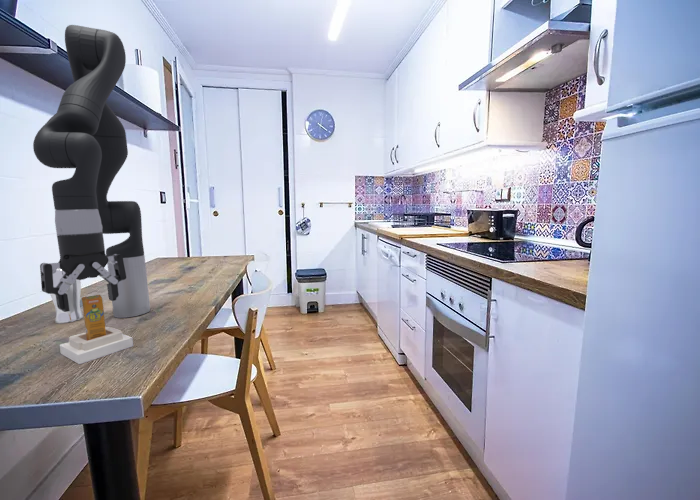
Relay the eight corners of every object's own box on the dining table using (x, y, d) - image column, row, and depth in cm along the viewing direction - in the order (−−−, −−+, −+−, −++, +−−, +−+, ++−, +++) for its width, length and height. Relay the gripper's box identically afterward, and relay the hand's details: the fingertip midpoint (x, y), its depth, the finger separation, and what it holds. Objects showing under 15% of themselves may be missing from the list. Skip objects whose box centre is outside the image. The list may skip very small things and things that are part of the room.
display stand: (60, 353, 72) (58, 338, 71) (113, 337, 80) (111, 323, 79) (79, 364, 66) (77, 347, 66) (133, 346, 75) (131, 331, 74)
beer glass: (91, 317, 96) (84, 266, 95) (63, 325, 90) (56, 271, 88) (75, 315, 99) (68, 265, 97) (47, 322, 92) (39, 270, 90)
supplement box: (88, 345, 70) (82, 299, 69) (86, 341, 73) (80, 297, 72) (107, 340, 73) (102, 296, 71) (105, 336, 75) (99, 293, 74)
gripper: (111, 228, 77) (119, 295, 80) (28, 233, 66) (41, 311, 68) (126, 229, 73) (134, 299, 76) (41, 235, 62) (54, 318, 64)
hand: (90, 305), depth 72 cm, fingers open, 8 cm apart
